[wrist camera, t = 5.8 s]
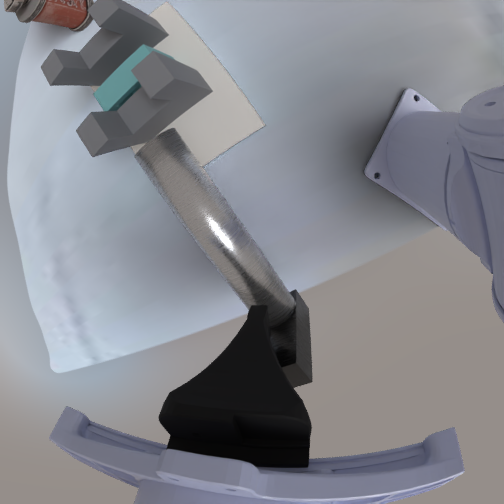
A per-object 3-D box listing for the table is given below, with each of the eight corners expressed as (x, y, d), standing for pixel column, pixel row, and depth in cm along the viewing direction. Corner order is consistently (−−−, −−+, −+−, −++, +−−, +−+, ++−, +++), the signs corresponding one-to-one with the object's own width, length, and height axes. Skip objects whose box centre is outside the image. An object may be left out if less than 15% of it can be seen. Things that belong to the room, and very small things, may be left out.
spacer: (185, 73, 15) (158, 63, 11) (139, 111, 17) (105, 113, 13) (172, 56, 15) (143, 44, 11) (128, 95, 16) (93, 93, 12)
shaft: (308, 308, 18) (312, 381, 12) (276, 322, 18) (269, 394, 13) (183, 126, 13) (123, 135, 8) (151, 153, 14) (84, 177, 9)
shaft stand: (266, 125, 18) (252, 127, 11) (170, 190, 21) (116, 229, 14) (172, 6, 13) (120, -32, 6) (93, 77, 17) (25, 76, 10)
